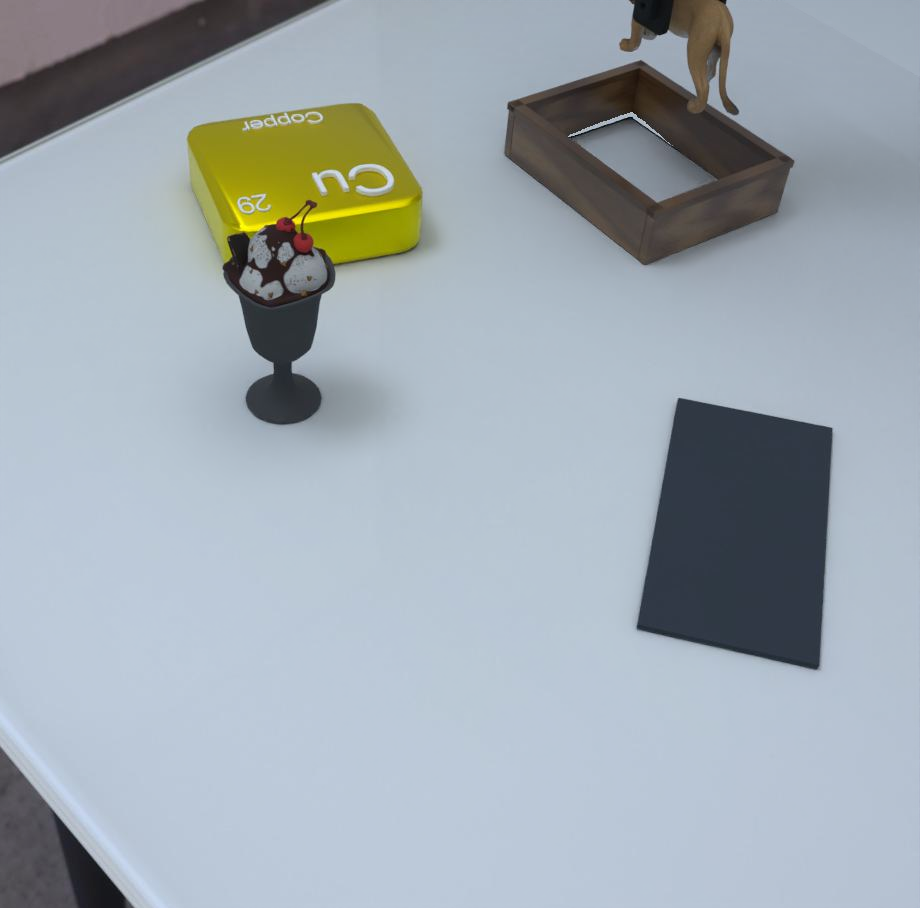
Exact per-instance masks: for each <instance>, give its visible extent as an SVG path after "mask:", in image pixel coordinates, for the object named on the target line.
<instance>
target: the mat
mask: <svg viewBox="0 0 920 908" xmlns="http://www.w3.org/2000/svg"><path fill="white" fill-rule="evenodd" d="M833 429H834V428H833V427H830V426H825V425H821V424H815V423H811V422H805V421H800V420H795V419H790V418H784V417H780V416H774V415H768V414H764V413H758V412H753V411H748V410H743V409H739V408H733V407H729V406H723V405H718V404H713V403H707V402H703V401H699V400H698V401H697V400H692V399H689V398H688V399H687V398H683V397H678V398H677V400H676V406H675V413H674V416H673V424H672V429H671V434H670V439H669V446H668V450H667V457H666V462H665V467H664V473H663V478H662V484H661V489H660V496H659V502H658V505H657V512H656V518H655V522H654V523H655V524H654V529H653V533H652V534H653V535H652V540H651V546H650V551H649V556H648V562H647V568H646V574H645V579H644V585H643V590H642V596H641V600H640V601H641V602H640V606H639V613H638V618H637V623H636V629H637V630H641V631H645V632H650V633H654V634H659V635H663V636H667V637H672V638H677V639H681V640H686V641H690V642H694V643H700V644H704V645H707V646H711V647H712V646H713V647H716V648H722V649H726V650H730V651H735V652H739V653H743V654H748V655H751V656H752V655H753V656H756V657H761V658H765V659H770V660H773V661H774V660H775V661H779V662H783V663H788V664H791V665H797V666H802V667H806V668H810V669H815V670H818V669H819V667H820V662H821V660H820V658H821V643H822V628H823V627H822V626H823V610H824V609H823V607H824V593H825V592H824V591H825V590H824V589H825V573H826V571H825V570H826V557H827V556H826V555H827V554H826V552H827V538H828V537H827V536H828V516H829V500H830V484H831V483H830V482H831V466H832V465H831V463H832V447H833V446H832V445H833Z"/></svg>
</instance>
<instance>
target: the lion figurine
mask: <svg viewBox="0 0 920 908" xmlns="http://www.w3.org/2000/svg"><path fill="white" fill-rule="evenodd" d="M628 1H629V2H630V3H631V4H632V5H634V3H635V0H628ZM633 10H634V8H633ZM633 10H632V11H633ZM734 27H735V25H734V19H733V16H732V14H731V12H730V10H729V8H728V6H727V4H726V5H725V4H724V3H722V2H720V1H718V0H674V2H673V8H672V14H671V20H670V25H669V30H668V32H670V33H671V34H673V35H674V36H676V37H679V38H682V39H687V41H686V60H687V61H686V63H687V67H688V70H689V74H690V77H691V80H692V83H693V85H694V88H695V93H696V94H695V95H696V96H697V99H695V98H692V99H690V100H689V102H688V103H687V110H688V111H689V112H691V113H693V114H697V113H700V112H702V111H703V110H704V109H705V107H706V105H707V103H708V100H709V93H710V87H711V86H710V82H711V80H713V79H714V78H716V73H717V65H718V64H719V65H718V68H719V69H718V93H719V94H718V95H719V97H720V100H721V103H722V106H723V108H724V110H725V111H726V113H728V114H731V115H732V116H738V115H740V109H739V108H738V107H737V106H736V104H735V103H734V102H733V101H732V100H731V99H730V97H729V96H728V94H727V87H726V86H727V85H726V83H727V74H728V66H729V58H730V52H731V42H732V41H731V40H732V37H733V34H734V29H735V28H734ZM630 28H631V29H630V38H625V37H624V38H621V39H620V41H619V43H618V45H619V50H620V51H622V52H626V53H633V52H635V51H637V50H638V49H639V48H640V46H641V44H642V41H643V40H645V41H653V40H656V38H657V36H658V35H657V34H655V33H653V32H652V31H650V30H648V29H647V28H645V27H644V26H642V25H640V24H639V23H637V22H635V21H634V19H633V13H632V15H631V22H630ZM718 62H719V63H718Z"/></svg>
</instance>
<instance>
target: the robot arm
mask: <svg viewBox="0 0 920 908" xmlns="http://www.w3.org/2000/svg"><path fill="white" fill-rule="evenodd" d="M718 1H720V2H722V3H724V4H725V5H726V6H727V2H728V1H727V0H718ZM673 2H674V0H635V3H634V4H633V9H634V10H632V14H633V19H634V21H635V22H637V23H639V24H640V25H642V26H644V27H645V28H647V29H648V30H650V31H652V32H653V33H655V34H657V36H663V35H666V34H668V32H669V25H670V20H671V14H672V8H673Z"/></svg>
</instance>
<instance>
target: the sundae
mask: <svg viewBox="0 0 920 908" xmlns="http://www.w3.org/2000/svg"><path fill="white" fill-rule="evenodd" d="M305 202H306V204H305V205H304V206H303V207H302V208H301V209H300V210H299V212H298V213H296V214H295V215H294V216H292V217H291V218H288V217H283V218H280V219H278V220H277V222H276V224H271V225H265V226H264V227H263V228H261V229H260V230H259V231H258V232H257V233H256V234H255V235H254V236H253V237H252V238H251V239H250V238H249V237H248V235H247V234H246V233H245V232H242V233H239V234H237V233H236V234H234V235H230V236H227V242H228V245H229V248H230V251H231V254H232V257H231V258H230V260H229V261H228V262H226V263H225V264H223V265H222V267H221V269H222V270H223V273H222V274H223V279H224V280H225V283H226V284H227V286H228V287H229V288H230V289H231V290H232V291H233V292H234V293H235V294H236V295H237V296H238V299H239V302H240V307H241V311H242V317H243V321H244V325H245V331H246V333H247V336H248V339H249V342H250V345H251V348H252V349H253V350H254V352H255V353H256V354H257V355H259V356H260V357H261V358H263V359H264V360H266V361H268V362H270V363H272V364H273V365H272V366H273V373H270V374H268V375H265V376H263V377H260V378H258V379H257V380H255V381H254V382H252V384H251V385H250V386H249V388H248V390H247V392H246V395H245V403H246V406H247V408H248V409H249V411H250V412H251V413H252V414H253V415H254V416H255V417H258V418H259V419H261V420H263V421H265V422H268V423H273V424H279V425H280V424H281V425H282V424H284V425H285V424H293V423H298V422H301V421H303V420H305V419H307V418H310V417H311V416H312V415H314V413H315V412H317V410H318V409H319V407H320V405H321V404H322V400H323V399H322V393H321V390H320V387H318V385H317V384H316V383H315V382H314V381H312V379H309V378H308V377H306V376H305V375H302V374H299V373H294V372H293V362H295V361H298V360H299V359H300V358H302V357H303V356H305V355H306V354H307V353H308V352H309V351H310V350H311V349H312V346H313V343H314V339H315V335H316V331H317V327H318V320H319V313H320V304H321V300H322V295H323V294H325V293H327V292H328V291H331V289H332V288H333V287H334V285H335V283H336V268H335V264H333V263H332V260H331V258H330V257H329V256H328V255H327V254H326V251H325V250H323V249H319V248H316V247H314V246H313V238H312V237H311V236H310V235H309V234H306V233H304V230H303V224H304V220H305V217H306V215H307V214H308V213H309V212H310V211H311V210H312V209H313V208H316V207H317V203H316V202H313V201H311V200H306V201H305ZM308 205H310V208H309V210H308V211H307V212H306V213H305V215H304V216H303V218H302V221H301V226H300V230H301V233H297V231H296V230H295V227H296V226H295V223H294V222H293V220H292V219H294V218H295V217H296V216H297V215H298V214H299V213H300V212H301V211H302V210H303V209H304V208H305V207H306V206H308Z"/></svg>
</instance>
